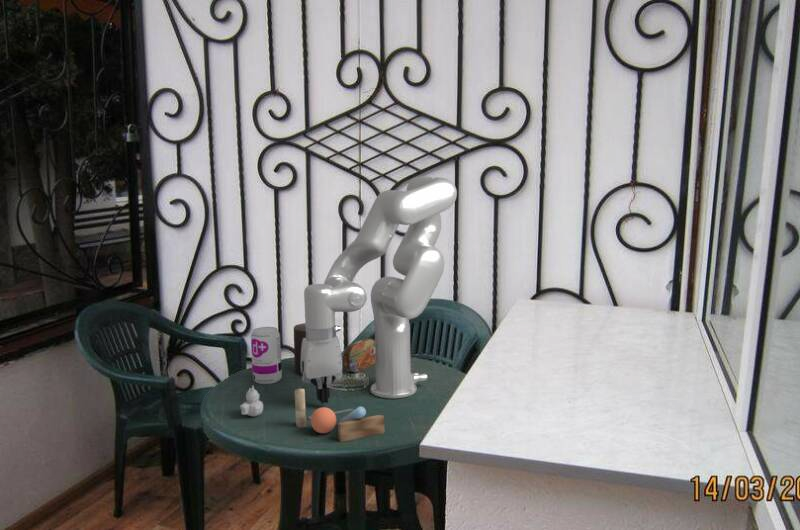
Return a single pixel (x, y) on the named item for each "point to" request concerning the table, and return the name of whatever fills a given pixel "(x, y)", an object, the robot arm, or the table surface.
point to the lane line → (339, 412)
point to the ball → (323, 420)
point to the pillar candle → (298, 345)
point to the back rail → (361, 428)
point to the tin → (359, 355)
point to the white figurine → (252, 403)
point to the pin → (354, 414)
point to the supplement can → (266, 355)
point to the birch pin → (300, 408)
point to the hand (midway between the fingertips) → (323, 401)
